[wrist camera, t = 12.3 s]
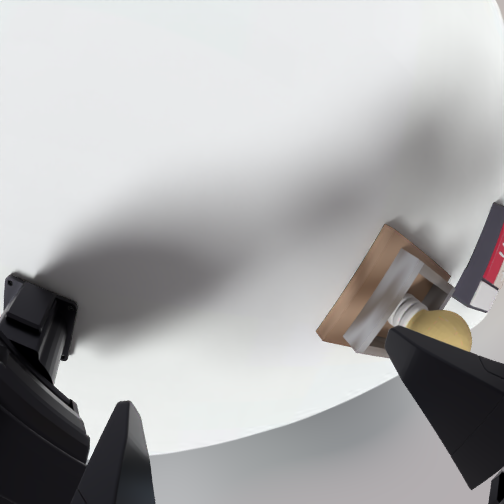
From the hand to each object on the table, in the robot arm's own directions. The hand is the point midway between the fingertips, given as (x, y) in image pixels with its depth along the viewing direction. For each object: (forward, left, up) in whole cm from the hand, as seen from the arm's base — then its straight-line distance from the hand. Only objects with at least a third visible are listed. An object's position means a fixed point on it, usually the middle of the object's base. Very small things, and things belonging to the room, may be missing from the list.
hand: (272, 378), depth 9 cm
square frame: (+1, -21, -13) cm, 25 cm away
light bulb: (+1, -21, -12) cm, 24 cm away
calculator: (+13, -39, -14) cm, 43 cm away
